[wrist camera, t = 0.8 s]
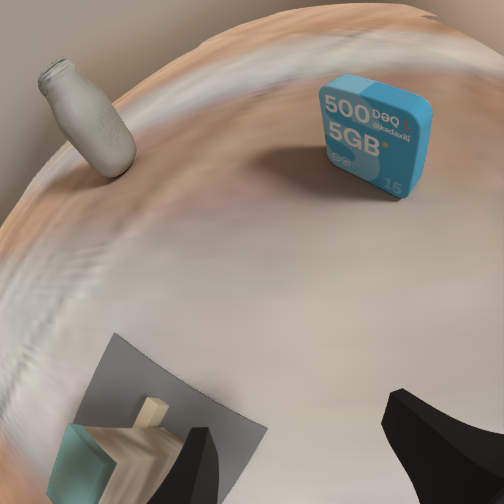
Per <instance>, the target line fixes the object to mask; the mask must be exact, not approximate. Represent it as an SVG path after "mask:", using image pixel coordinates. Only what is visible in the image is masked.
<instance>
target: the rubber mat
mask: <svg viewBox="0 0 504 504" xmlns="http://www.w3.org/2000/svg"><path fill="white" fill-rule="evenodd" d="M73 424H77V425H82V426H90V427H106V428H159V427H164V428H165V429H166V430H168V431H169V432H170V433H172V434H173V435H174V436H176V437H177V438H179V439H180V440H182V441H183V442H185V441H186V438H187V436H188V434H189V431H190V429H191V428H192V427H209V430H210V433H211V436H212V439H213V441H214V444H215V447H216V450H217V453H218V459H219V488H218V501H217V504H222V502H223V501H224V499H225V498H226V496H227V495H228V493H229V492H230V490H231V489H232V487H233V486H234V484H235V483H236V481H237V480H238V478H239V476H240V475H241V473H242V472H243V470H244V468H245V467H246V465H247V464H248V462H249V460H250V459H251V457H252V455H253V453H254V452H255V450H256V448H257V447H258V445H259V443H260V441H261V440H262V438H263V436H264V434H265V433H266V431H267V429H268V428H266V427H264V426H262V425H260V424H258V423H256V422H254V421H252V420H250V419H248V418H246V417H244V416H242V415H240V414H238V413H236V412H234V411H232V410H230V409H228V408H227V407H225V406H223V405H221V404H219V403H218V402H216V401H214V400H212V399H211V398H209V397H207V396H205V395H204V394H202V393H200V392H199V391H197V390H196V389H194V388H192V387H191V386H189V385H187V384H186V383H184V382H183V381H181V380H180V379H178V378H177V377H175V376H174V375H172V374H171V373H169V372H168V371H166V370H165V369H163V368H162V367H160V366H159V365H158V364H156V363H155V362H153V361H152V360H151V359H149V358H148V357H146V356H145V355H144V354H142V353H141V352H140V351H138V350H137V349H136V348H134V347H133V346H132V345H131V344H129V343H128V342H127V341H125V340H124V339H123V338H122V337H120V336H119V335H118V334H116V333H114V335H113V337H112V339H111V341H110V342H109V344H108V346H107V348H106V350H105V352H104V355H103V357H102V359H101V361H100V363H99V365H98V367H97V369H96V371H95V373H94V375H93V378H92V380H91V382H90V384H89V386H88V389H87V391H86V393H85V395H84V398H83V400H82V402H81V405H80V407H79V410H78V412H77V414H76V417H75V419H74V422H73Z"/></svg>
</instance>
